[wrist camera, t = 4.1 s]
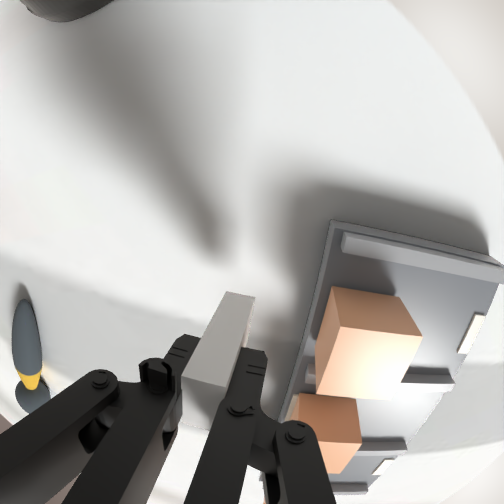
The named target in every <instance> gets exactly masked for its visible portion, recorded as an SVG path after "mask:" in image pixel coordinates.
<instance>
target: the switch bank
mask: <svg viewBox="0 0 504 504" xmlns="http://www.w3.org/2000/svg"><path fill="white" fill-rule="evenodd" d="M499 284H504V265H503V264H501V263H500V262H498V261H497V260H495V259H494V258H492V257H491V256H488V255H485V254H481V253H477V252H473V251H469V250H466V249H462V248H458V247H454V246H450V245H446V244H441V243H437V242H433V241H429V240H425V239H420V238H416V237H412V236H407V235H403V234H398V233H394V232H389V231H385V230H380V229H375V228H370V227H366V226H361V225H356V224H351V223H346V222H341V221H335V220H330V225H329V230H328V235H327V240H326V244H325V249H324V254H323V258H322V263H321V267H320V271H319V276H318V280H317V284H316V288H315V292H314V296H313V300H312V304H311V308H310V312H309V316H308V320H307V324H306V328H305V331H304V335H303V339H302V342H301V346H300V349H299V353H298V356H297V360H296V363H295V367H294V370H293V373H292V377H291V380H290V383H289V387H288V390H287V393H286V396H285V399H284V403H283V406H282V409H281V412H280V415H279V418H278V421H277V422H279V423H283V422H285V421H289V420H290V417H291V415H292V412H293V409H294V407H295V404H296V401H297V398H298V395H299V393H306V394H314V395H321V394H316V369H315V344H316V341H317V337H318V334H319V331H320V327H321V324H322V320H323V317H324V313H325V310H326V306H327V302H328V299H329V295H330V291H331V287H332V286H336V287H342V288H348V289H354V290H360V291H366V292H372V293H378V294H384V295H390V296H397V297H400V299H401V300H402V302H403V304H404V305H405V307H406V308H407V310H408V312H409V313H410V315H411V317H412V318H413V320H414V322H415V324H416V325H417V327H418V329H419V330H420V332H421V334H422V336H423V338H422V340H421V342H420V345H419V347H418V349H417V351H416V353H415V355H414V357H413V359H412V361H411V363H410V365H409V367H408V369H407V371H406V373H405V375H404V377H403V378H402V380H401V382H400V384H399V386H398V388H397V389H396V391H395V393H394V395H393V396H392V398H391V400H379V399H363V398H352V399H356V402H357V409H358V416H359V423H360V430H361V438H362V445H361V446H360V448H359V449H358V450H357V452H356V453H355V454H354V456H353V457H352V459H351V460H350V461H349V462H348V464H347V465H346V466H345V468H344V469H343V470H342V472H341V473H340V474H332V473H327V474H328V477H329V480H330V484H331V487H332V490H333V494H334V495H361V494H366V493H367V492H368V487H369V486H370V485H371V484H372V483H373V482H374V481H375V480H376V479H377V478H378V477H379V476H380V475H381V474H382V473H383V472H384V471H385V470H386V469H387V467H388V466H389V465H390V464H391V463H392V462H393V461H394V460H395V459H396V457H397V456H398V455H403V454H404V453H405V452H406V451H407V444H408V443H409V442H410V441H411V439H412V438H413V437H414V436H415V434H416V433H417V432H418V430H419V429H420V428H421V426H422V425H423V424H424V422H425V421H426V420H427V418H428V417H429V415H430V414H431V413H432V411H433V410H434V408H435V407H436V405H437V404H438V402H439V401H440V399H441V398H442V396H443V395H444V393H445V392H450V391H451V390H452V388H453V387H454V385H455V382H454V380H453V379H454V377H455V375H456V374H457V372H458V370H459V369H460V367H461V365H462V363H463V361H464V360H465V358H466V356H467V354H468V352H469V350H470V348H471V346H472V344H473V342H474V340H475V338H476V336H477V334H478V332H479V330H480V328H481V326H482V324H483V321H484V319H485V317H486V315H487V312H488V310H489V308H490V305H491V303H492V300H493V298H494V295H495V293H496V290H497V288H498V285H499ZM322 396H329V395H322ZM331 397H339V396H331ZM341 398H350V397H341ZM259 481H263V480H262V472H261V471H260V477H259ZM263 489H264V487H263Z"/></svg>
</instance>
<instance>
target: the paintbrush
mask: <svg viewBox="0 0 504 504" xmlns="http://www.w3.org/2000/svg"><path fill="white" fill-rule="evenodd" d="M12 354H13V360H14V365H15V368H16V370H17V372H18V374H19V376H20V378H21V381H20V382H19V383H18V384H17V386H16V390H15V395H16V399H17V401H18V403H19V405H20V406H21V407H22V409H24V410H25V411H26V412H27V413H29V414H30V413H32V412H33V411H35V410H36V409H37V408H39V407H40V406H42V405H43V404H45V403H46V402H47V401H49V400H50V399H51V398H50V393H49V391H48V389H47V387H46V386H45V385H44V384H43V383H42V382H41V381H40V380H39V379H40V375H41V370H42V353H41V345H40V339H39V333H38V328H37V324H36V320H35V316H34V313H33V310H32V308H31V306H30V304H29V303H28V301H27V300H25V299H22V300H21V301H20V302H19V304H18V306H17V308H16V311H15V314H14V319H13V326H12Z"/></svg>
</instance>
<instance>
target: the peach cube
mask: <svg viewBox="0 0 504 504" xmlns="http://www.w3.org/2000/svg"><path fill="white" fill-rule="evenodd" d="M290 420H297V421H302V422H304V423H307V424H308V425H309V426H311V427H312V428H313V430H314V432H315V433H316V437H317V440H318V443H319V447H320V450H321V453H322V457H323V460H324V463H325V467H326V470H327V473H332V474H340V473H341V472H342V470H343V469H344V468H345V466H346V465H347V464H348V462H349V461H350V460H351V459H352V457H353V456H354V454H355V453H356V452H357V450H358V449H359V448H360V446H361V445H362V438H361V430H360V423H359V416H358V409H357V402H356V399H352V398H341V397H331V396H322V395H314V394H306V393H299V395H298V398H297V401H296V404H295V407H294V409H293V412H292V415H291V417H290ZM290 420H289V421H290Z"/></svg>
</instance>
